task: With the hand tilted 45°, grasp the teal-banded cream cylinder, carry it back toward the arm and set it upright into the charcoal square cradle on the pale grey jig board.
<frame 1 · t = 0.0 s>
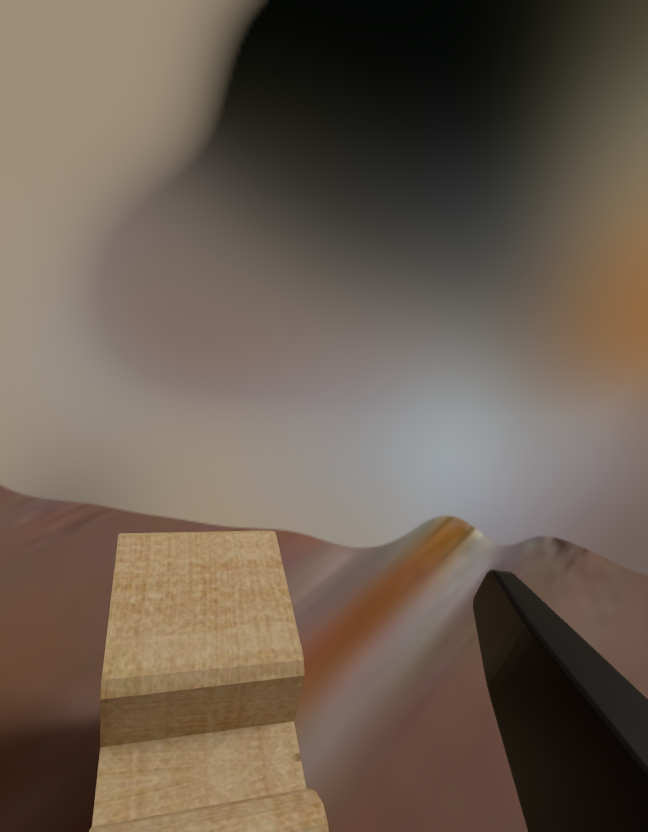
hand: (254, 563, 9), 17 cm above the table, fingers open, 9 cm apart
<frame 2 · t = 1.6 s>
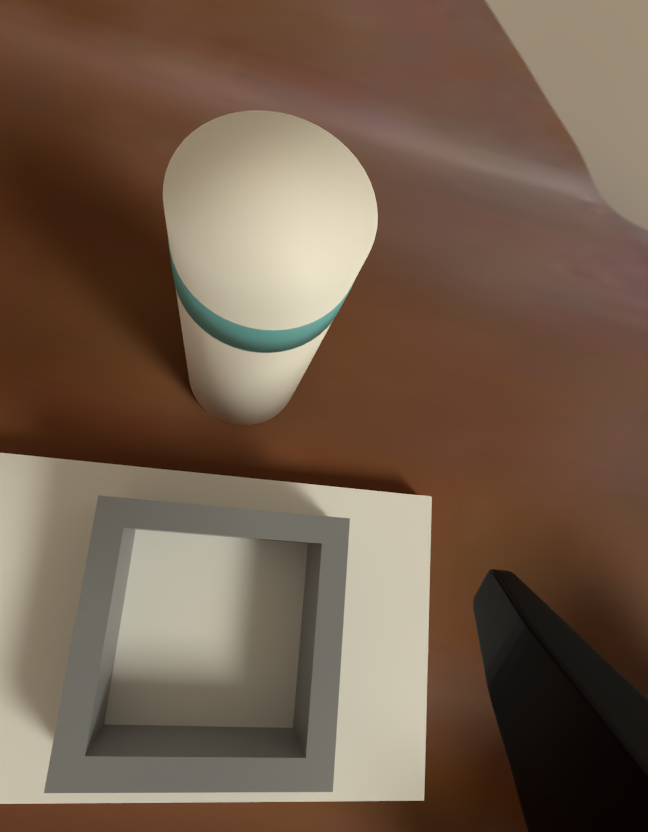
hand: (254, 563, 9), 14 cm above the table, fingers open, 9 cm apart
jig: (213, 623, 22), on the table
teal-banded cream cylinder: (243, 373, 25), on the table
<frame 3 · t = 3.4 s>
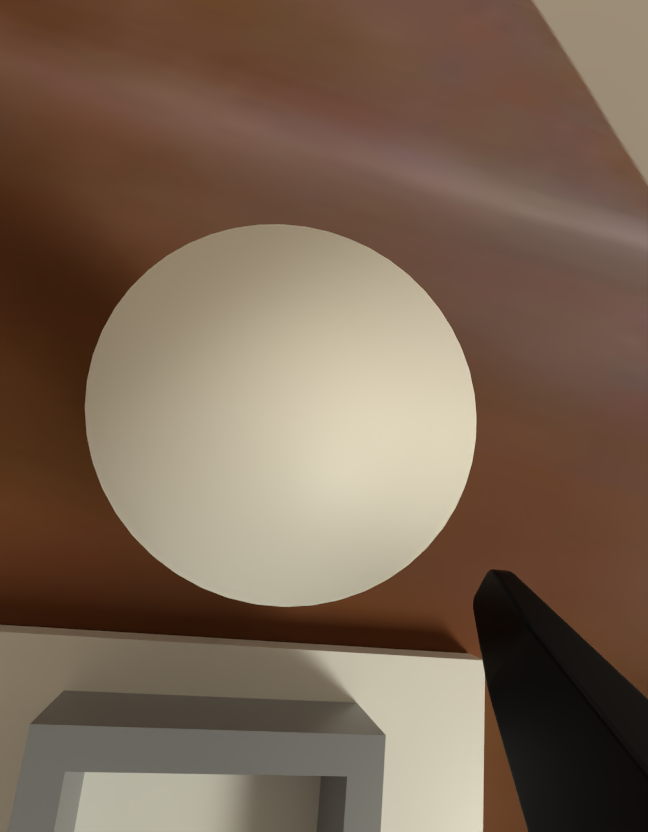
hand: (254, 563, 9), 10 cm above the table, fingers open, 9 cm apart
teal-banded cream cylinder: (242, 491, 19), on the table
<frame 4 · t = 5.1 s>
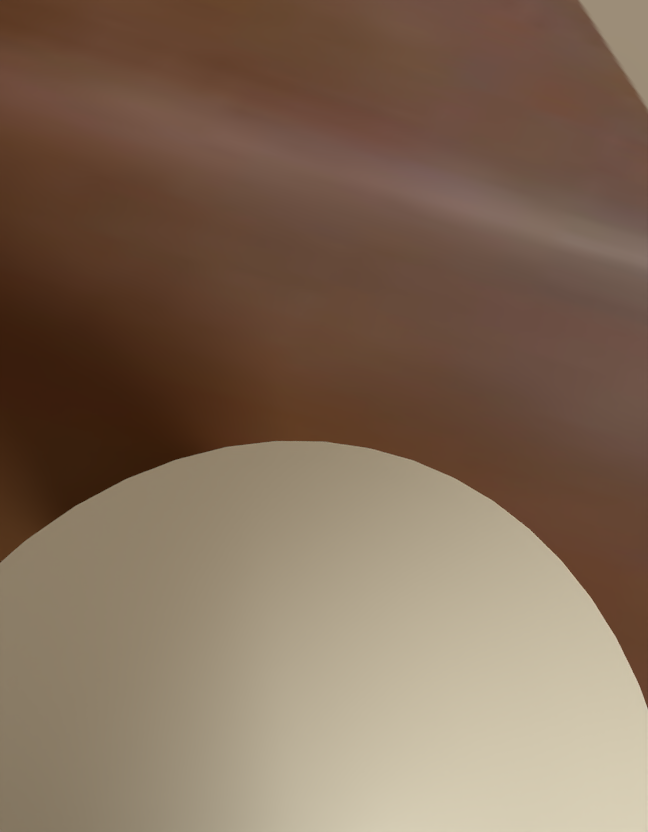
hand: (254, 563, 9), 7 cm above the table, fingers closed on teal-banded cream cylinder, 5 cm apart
teal-banded cream cylinder: (232, 601, 15), on the table, touching gripper
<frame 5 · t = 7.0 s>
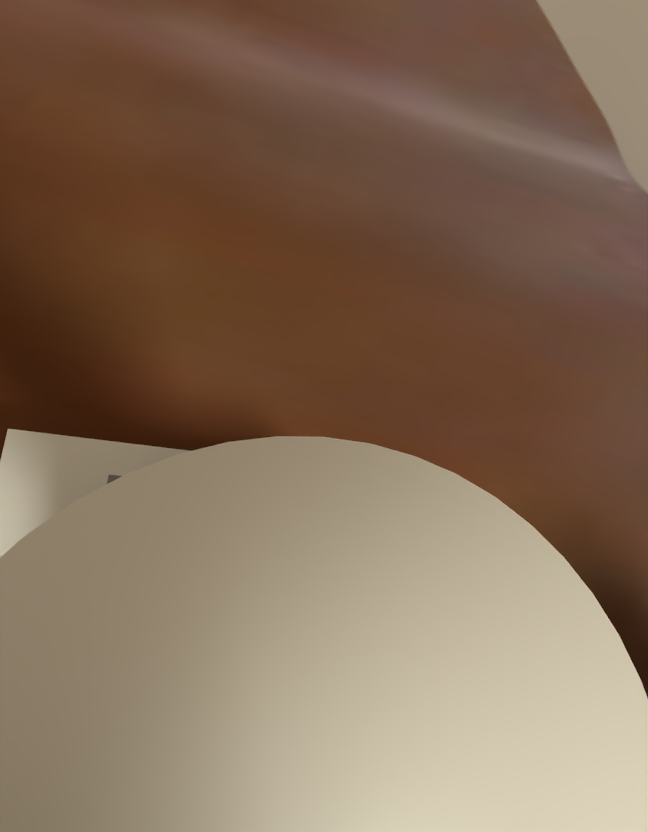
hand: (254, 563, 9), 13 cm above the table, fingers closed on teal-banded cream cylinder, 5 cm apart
jig: (223, 606, 21), on the table
teal-banded cream cylinder: (232, 600, 15), point 6 cm above the table, touching gripper
when the fingers open (9 cm above the table, at t = 9.0 s): teal-banded cream cylinder drops 1 cm, resting on jig.
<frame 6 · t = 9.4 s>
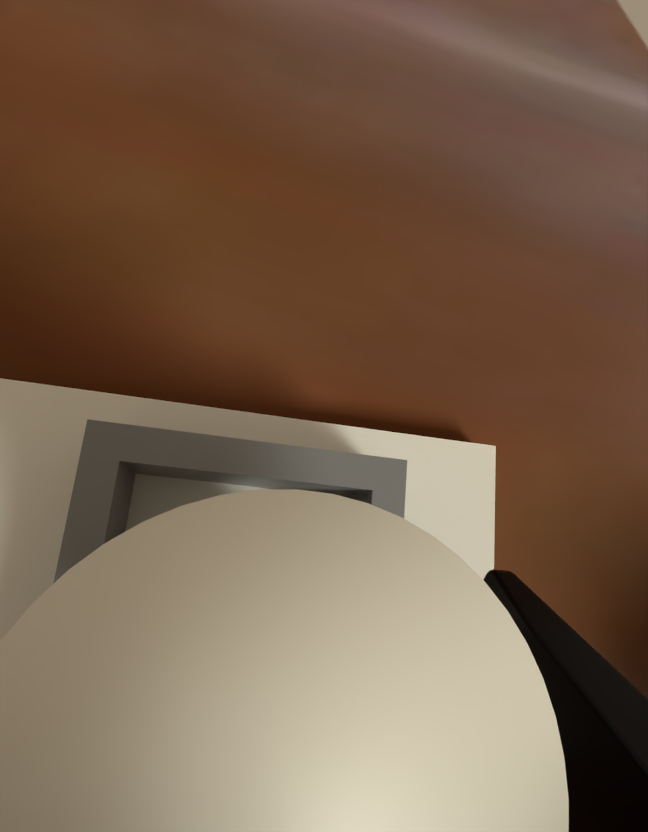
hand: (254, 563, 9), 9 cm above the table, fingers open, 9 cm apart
jig: (229, 592, 18), on the table
teal-banded cream cylinder: (230, 598, 16), point 1 cm above the table, touching jig
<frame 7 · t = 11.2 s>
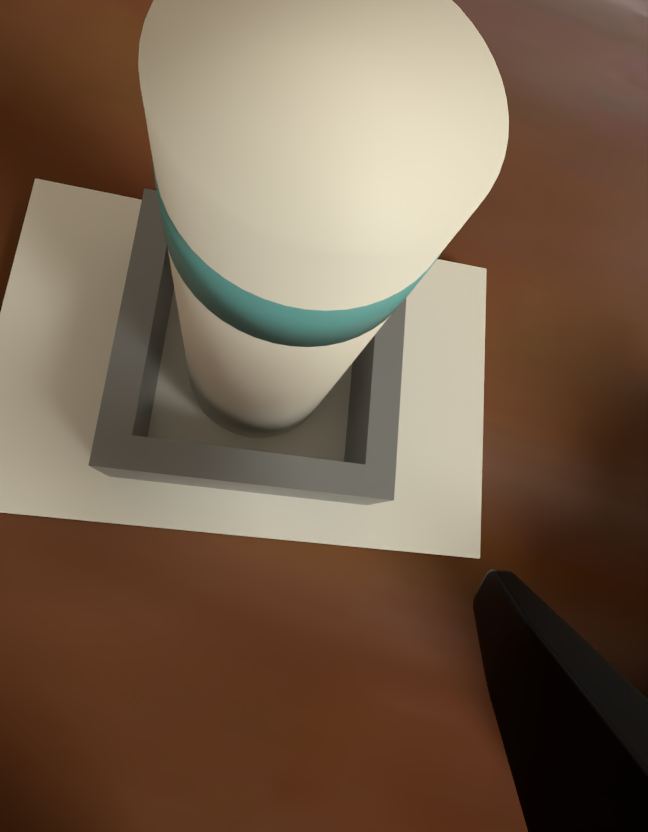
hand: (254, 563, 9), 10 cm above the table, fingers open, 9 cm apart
jig: (256, 379, 21), on the table
teal-banded cream cylinder: (258, 371, 19), point 1 cm above the table, touching jig
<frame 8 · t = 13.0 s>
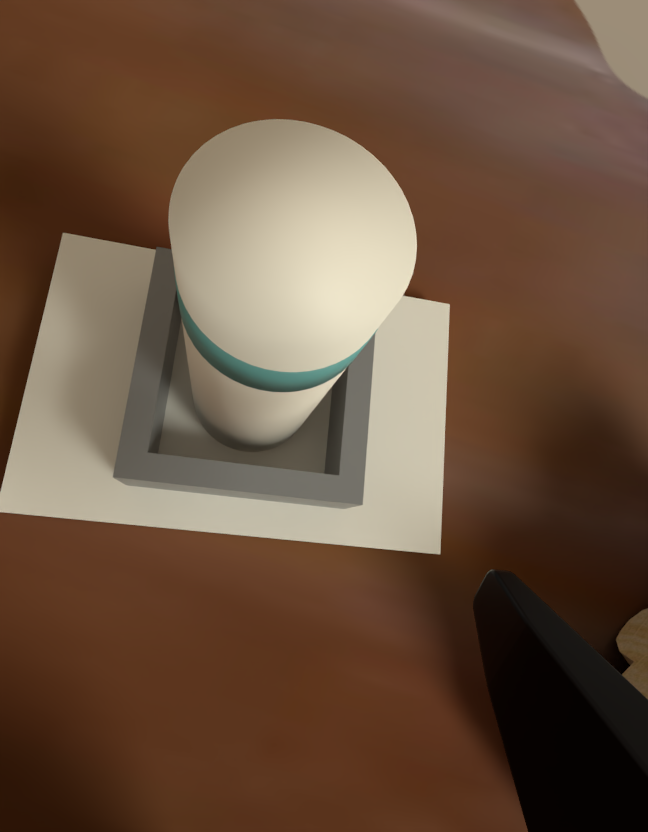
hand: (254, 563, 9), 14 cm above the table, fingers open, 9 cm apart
jig: (250, 401, 24), on the table
teal-banded cream cylinder: (252, 395, 23), point 1 cm above the table, touching jig
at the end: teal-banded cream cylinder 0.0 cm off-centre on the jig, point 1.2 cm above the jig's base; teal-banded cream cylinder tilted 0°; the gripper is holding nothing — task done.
